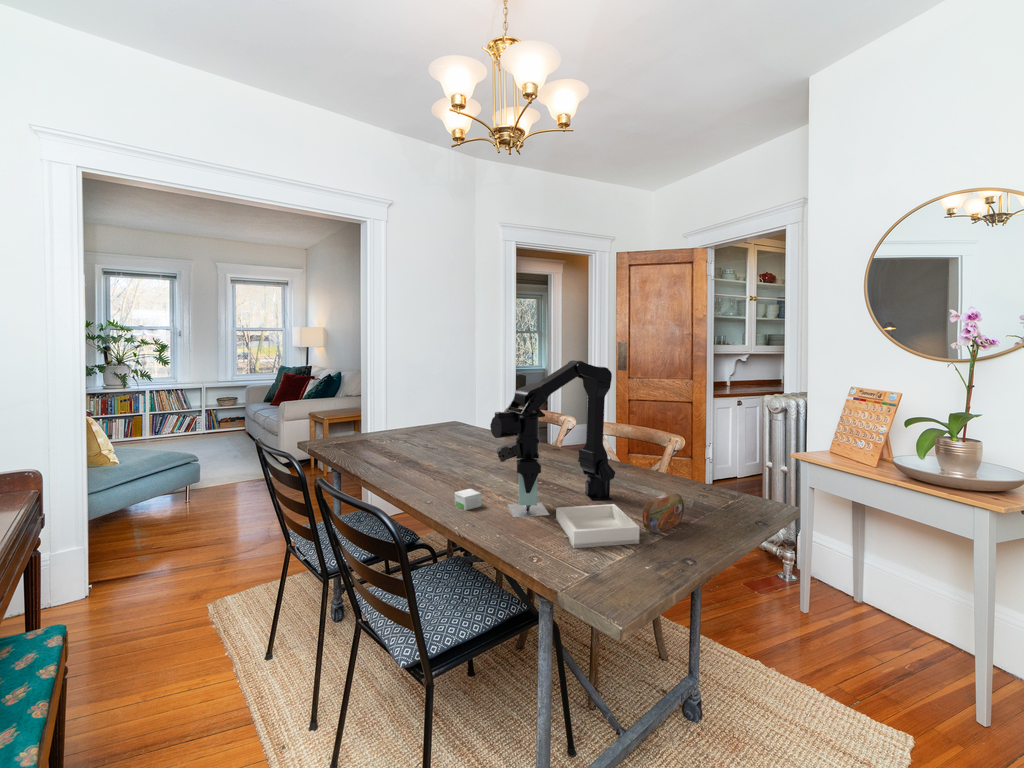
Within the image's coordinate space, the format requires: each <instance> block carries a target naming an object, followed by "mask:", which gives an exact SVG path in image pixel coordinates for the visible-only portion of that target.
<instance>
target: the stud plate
mask: <svg viewBox="0 0 1024 768" xmlns="http://www.w3.org/2000/svg"><path fill="white" fill-rule="evenodd" d="M507 507H508V509H509V512H510V514H511V516H512V518H520V517H521V518H523V517H538V516H550V513H549V512H548V509H546V507H545V506H544V504H543V503H542V502H541V501H540V502H538V501H537V505H519V503H510V504H509V503H508V504H507Z"/></svg>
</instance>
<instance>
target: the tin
mask: <svg viewBox="0 0 1024 768" xmlns="http://www.w3.org/2000/svg"><path fill="white" fill-rule="evenodd" d="M684 511H685V504H684V500H683V498H682V496H681V495H680V494H678V493H674V492H673V493H672V492H666V493H663V494H661V495H658V496H656V497H653V498H650V499H648V500H647V501H646V503H645V504H644V506H643V508H642V525H643V527H644V528H645V529H646V530H647V531H648V532H651V533H654V534H662V533H664V532H666V531H668V530H670V529H673V528H675V527H676V526H678V525H679V524H680V522H681V521H682V519H683V516H684Z"/></svg>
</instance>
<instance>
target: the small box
mask: <svg viewBox="0 0 1024 768" xmlns="http://www.w3.org/2000/svg"><path fill="white" fill-rule="evenodd" d="M454 505H455V507H458V508H460V509H462V510H464V511H467V510H472V509H477V508H480V507H482V493H481V492H479V491H476V490H474V489H472V488H467V489H462V490H459V491H455V492H454Z"/></svg>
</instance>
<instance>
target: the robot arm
mask: <svg viewBox="0 0 1024 768" xmlns="http://www.w3.org/2000/svg"><path fill="white" fill-rule="evenodd" d="M612 375H613V374H612V371H611V370H610V369H609V368H608V367H606V366H596V365H592V364H589V363H586V362H584V361H583V360H569V361H568V362H567V363H566V364H565V365H563V366H562V367H560V368H559V369H556V370H555V371H554V372H552V373H551V374H549V375H548V376H546V377H544V378H542V379H541V380H540V381H537V382H534V383H530V384H528V385H527V384H526V385H524V386H522V387H519V388H518V389H516V390H515V392H514V396H513V399H512V401H511V402H510V403H509V405H508V407H507V408H506V410H505V411H495V412H494V416H493V417H492V419H491V423H490V424H489V425H490V426H489V427H490V432H491V434H492V436H493V438H495V439H501V438H509V437H516V436H517V437H516V438H515V439H516V441H513V442H510V443H507V444H505V445H502V446H499V447H498V448H496V453H497V457H498V458H499V462H500V463H503V462H505V461H507V460H510V459H512V458H516V473H517V474H519V473H520V474H521V475H522V476H523V480H524V485H525V490H526V493H530V492H531V490H532V487H533V485H534V483H535V480H536V478H537V479H538V475H539V474H541V473H542V465H541V461H540V460H538V459H540V454H539V444H540V439H539V418H544V417H546V414H545V413H544V412H543V411H542V410H541V407H543V406H544V404H546V402H547V401H548V398H550V397H549V396H551V395H552V394H553V393H555V392H557V391H558V390H560V389H561V388H563V387H564V386H565V385H567V384H568V383H570V382H571V381H573V380H574V379H576V378H578V379H581V380H582V385H583V388H584V391H585V393H586V395H587V410H586V412H587V413H586V414H587V416H586V439H585V440H586V441H585V445H584V446H583V448H579V449H578V460H577V462H578V463H579V467H580V468H581V470H582V473H583V475H585V476H586V480H585V485H584V486H585V491H584V494H585V496H587V497H588V499H590V500H591V501H596V500H597V501H598V500H612V499H613V498H612V496H611V494H610V493H611V491H610V490H611V481H612V480H614V479H615V475H616V471H615V470H614V469H613V467H612V466H611V465H610V464H609V457H608V452H607V450H606V448H605V446H604V424H605V423H604V421H605V420H604V419H605V401H606V400H605V399H606V398H605V397H606V395H607V394H608V392H609V391H610V388H611V384H612V378H613V376H612Z"/></svg>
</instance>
